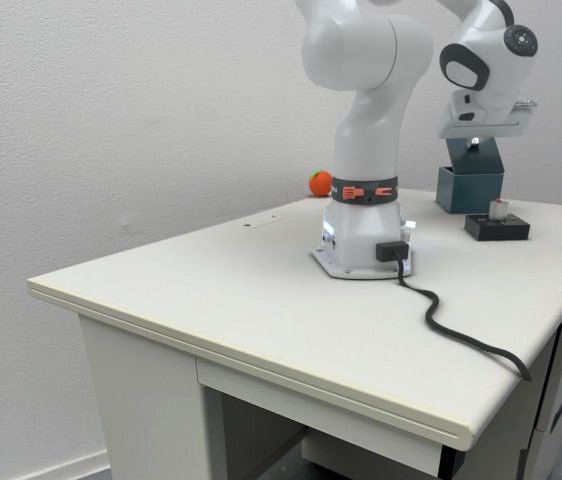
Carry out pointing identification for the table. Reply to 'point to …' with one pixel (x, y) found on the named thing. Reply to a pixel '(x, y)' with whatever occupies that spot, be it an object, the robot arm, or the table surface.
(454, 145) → the box lid
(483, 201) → the teal open box
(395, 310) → the table surface
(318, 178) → the clementine
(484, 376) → the table surface
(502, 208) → the knob
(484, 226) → the control panel
